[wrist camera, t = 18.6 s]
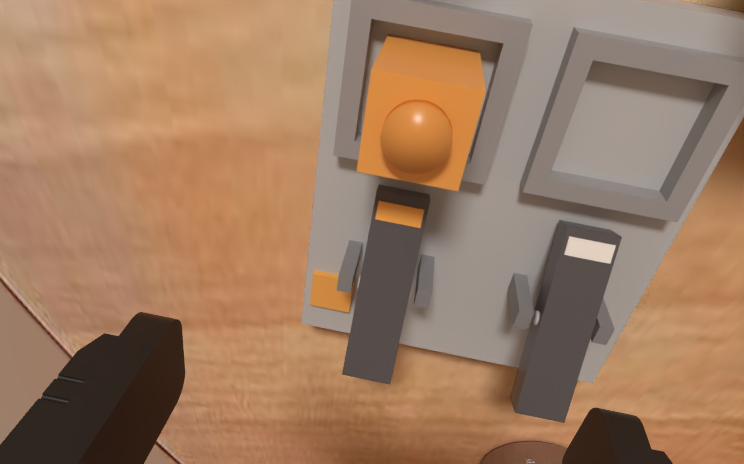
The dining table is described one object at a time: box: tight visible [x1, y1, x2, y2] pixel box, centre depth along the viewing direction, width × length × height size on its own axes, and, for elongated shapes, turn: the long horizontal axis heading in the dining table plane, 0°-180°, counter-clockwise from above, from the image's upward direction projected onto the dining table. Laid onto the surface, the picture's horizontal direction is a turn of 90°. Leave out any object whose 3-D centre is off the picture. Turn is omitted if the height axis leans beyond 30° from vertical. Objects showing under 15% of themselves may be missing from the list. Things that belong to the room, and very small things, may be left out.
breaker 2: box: [510, 220, 622, 423], centre depth 29 cm, size 11×3×2 cm, turn 171°
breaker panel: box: [301, 0, 744, 383], centre depth 29 cm, size 23×20×6 cm
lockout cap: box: [356, 34, 486, 191], centre depth 23 cm, size 4×4×7 cm
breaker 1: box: [342, 185, 430, 384], centre depth 30 cm, size 11×3×2 cm, turn 171°
